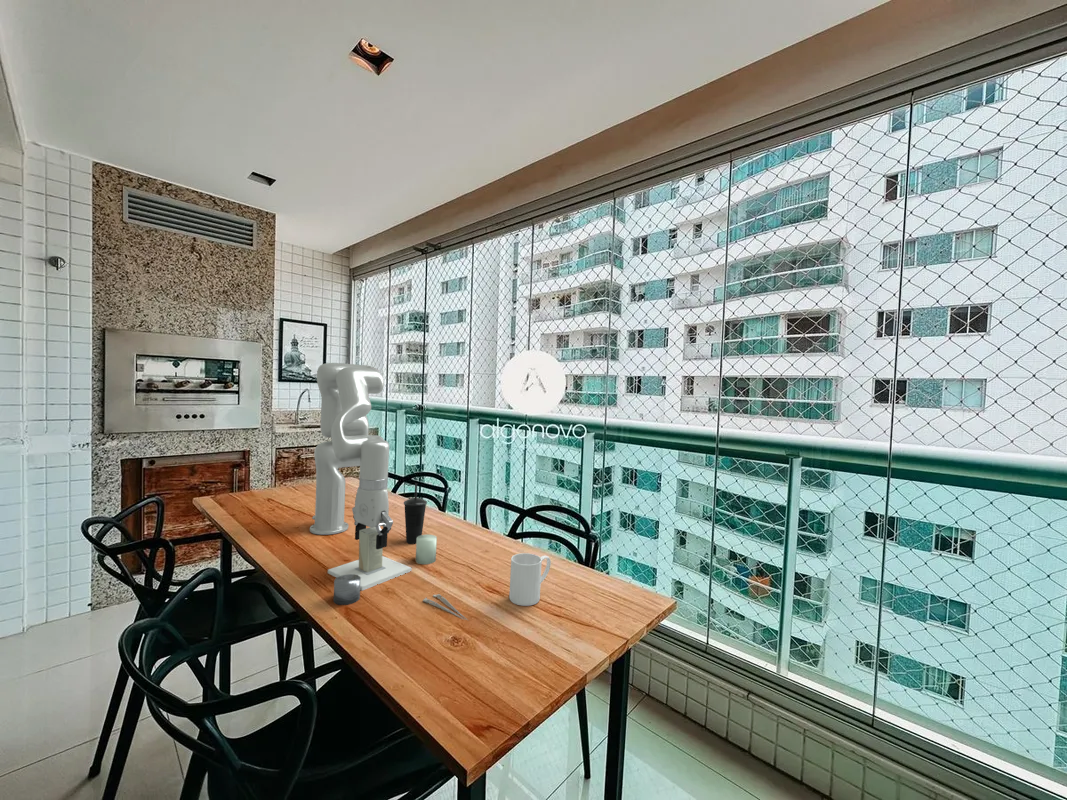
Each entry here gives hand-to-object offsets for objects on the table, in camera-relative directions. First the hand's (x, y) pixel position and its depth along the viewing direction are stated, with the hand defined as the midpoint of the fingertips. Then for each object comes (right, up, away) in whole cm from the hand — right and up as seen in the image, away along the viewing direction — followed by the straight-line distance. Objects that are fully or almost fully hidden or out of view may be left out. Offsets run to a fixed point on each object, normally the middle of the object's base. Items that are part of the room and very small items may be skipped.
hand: (370, 543), depth 127 cm
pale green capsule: (+13, -9, +10) cm, 19 cm away
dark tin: (0, -9, -16) cm, 18 cm away
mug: (+46, -11, -10) cm, 48 cm away
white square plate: (0, -8, 0) cm, 8 cm away
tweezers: (+26, -11, -19) cm, 34 cm away
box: (0, -7, 0) cm, 7 cm away
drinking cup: (+5, -8, +25) cm, 27 cm away
